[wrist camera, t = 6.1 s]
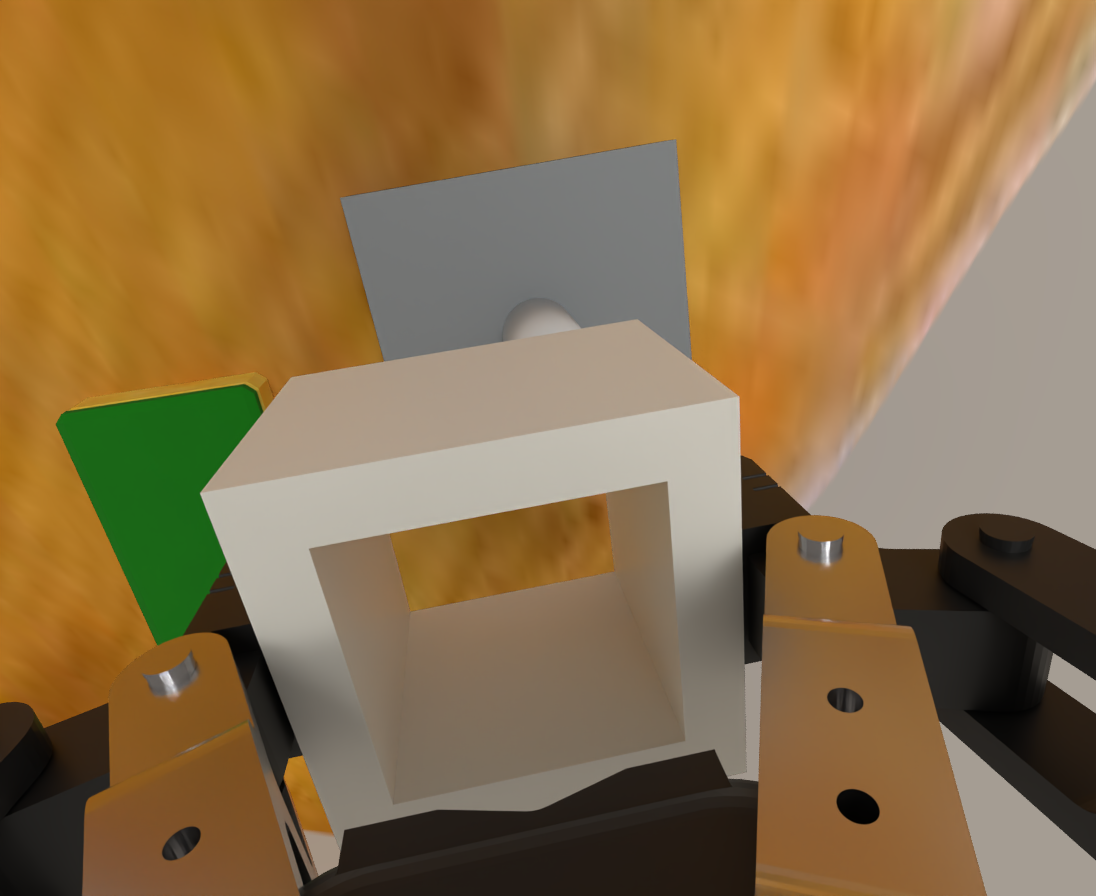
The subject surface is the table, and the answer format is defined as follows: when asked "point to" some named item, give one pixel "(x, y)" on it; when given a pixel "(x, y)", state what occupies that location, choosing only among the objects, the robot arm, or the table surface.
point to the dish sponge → (162, 483)
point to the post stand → (525, 252)
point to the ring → (505, 619)
